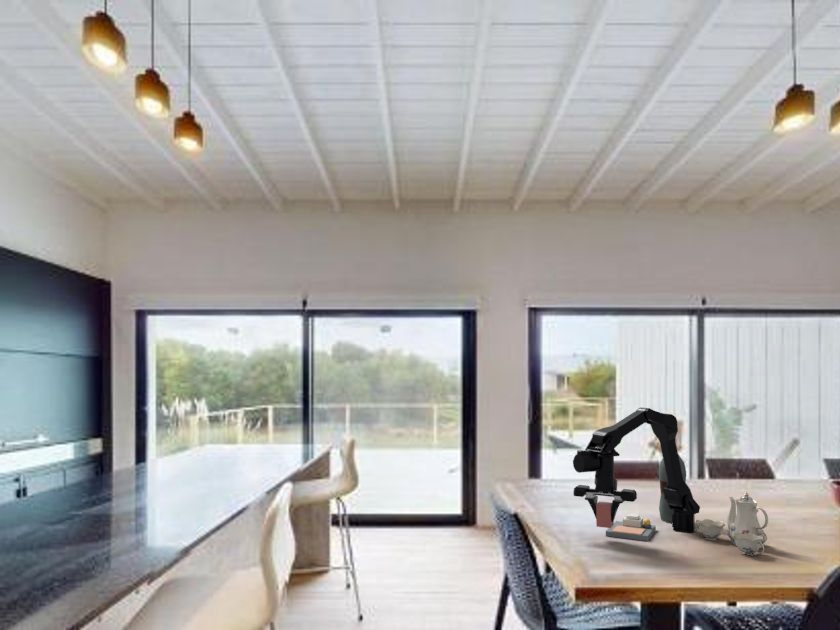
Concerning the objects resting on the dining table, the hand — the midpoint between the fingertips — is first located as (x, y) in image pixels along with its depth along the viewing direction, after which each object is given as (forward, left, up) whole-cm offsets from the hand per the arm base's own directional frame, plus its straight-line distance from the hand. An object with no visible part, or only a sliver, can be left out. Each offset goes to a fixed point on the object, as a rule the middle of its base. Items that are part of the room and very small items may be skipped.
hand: (605, 520), depth 218 cm
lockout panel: (-6, -13, -6) cm, 15 cm away
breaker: (-6, -17, -4) cm, 18 cm away
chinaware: (-38, -13, -6) cm, 40 cm away
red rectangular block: (0, 0, -2) cm, 2 cm away
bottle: (-15, -39, -6) cm, 42 cm away
